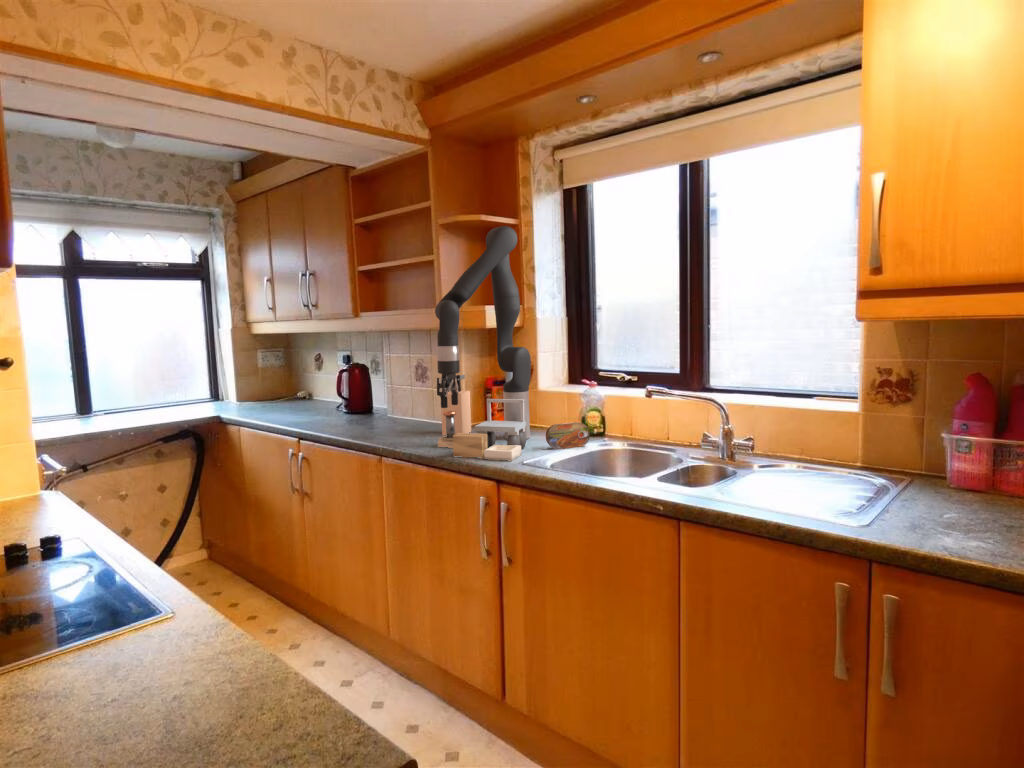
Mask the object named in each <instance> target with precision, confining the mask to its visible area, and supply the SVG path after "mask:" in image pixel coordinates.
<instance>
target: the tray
mask: <svg viewBox="0 0 1024 768" xmlns="http://www.w3.org/2000/svg"><path fill="white" fill-rule="evenodd" d="M484 456H485V457H484V460H485V459H488V460H487V461H499V460H510V461H509V462H513V461H514V460H516V459H518V458H519V457H520V456H522V449H521V446H518V445H507V444H495V445H493V446H491V447H489V448H487V449H486V450H484ZM515 458H516V459H515ZM512 460H513V461H512Z"/></svg>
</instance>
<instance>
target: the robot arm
mask: <svg viewBox="0 0 1024 768" xmlns="http://www.w3.org/2000/svg"><path fill="white" fill-rule="evenodd" d="M517 243H518V234H517V232H516V230H515V229H513V228H512V226H508V225H505V226H504V225H503V226H497V227H494V228H492V229H490V230H489V231H488V232H487V235H486V236H485V246H486V247H485V250H484V251H483V253H482V254H481V255H480V256H479V257H478V258H477V259H476V260H475V261H474V262H473V263H472V264H471V265H470V266H469V267H468V268H467V269H465V271H464V272H463V273H461V275H460V277H459V278H458V280H457V281H456V282H455V283H454V285H453V286H452V287H451V289H450V290H449V291H448V292H447V293H446V294H445V295H444V296H443V297H442V298H441V300H440V301H438V303H437V305H436V306H435V309H434V310H435V311H434V314H435V316H436V318H437V319H438V320H439V324H438V325H439V326H438V327H439V329H438V330H437V351H436V355H437V356H436V357H437V358H436V359H437V362H436V363H437V373H438V374H439V375H441V377H436V395H437V396H438V397H440V409H441V408H447V407H448V400H447V395H448V392H449V391H451V403H452V405H458V394H459V392H461V391H462V387H461V380H460V374H459V373H460V371H461V370H460V367H461V366H460V349H459V334H458V333H459V332H458V331H459V325H460V309H461V307H462V306H463V305H464V304H465V303H467V302H468V301H469V300H470V299H471V298H472V296H473V295H474V294H475V293H476V291H477V290H478V289H479V287H480V286H481V285H482V283H484V280H485V279H486V278H487V277H488V276H489V275H490V274H491V287H492V295H493V296H492V298H493V308H494V315H495V326H496V354H497V355H496V357H497V364H498V367H499V368H500V370H501V371H502V372H505V373H512V376H511V379H510V380H509V381H507V382H505V383H503V385H502V387H503V389H502V392H503V393H502V394H503V395H502V396H503V397H502V398H503V399H524V422H526V427H525V431H524V432H525V434H526V440H527V439H530V438H531V432H530V431H531V430H530V429H531V428H530V427H531V426H530V422H531V421H530V396H529V395H530V391H529V388H530V385H531V372H532V371H531V368H532V362H531V354H530V351H529V350H528V348H527V347H523V346H514V341H513V332H514V328H515V325H516V323H517V321H518V319H519V315H520V312H521V300H520V291H519V288H518V285H517V282H516V280H515V277H514V275H513V272H512V269H511V265H510V253H511V252H513V250H514V249H515V248H516V247H517ZM503 421H521V415H520V403H505V402H503ZM508 436H509V435H508V432H504V439H505V440H508Z"/></svg>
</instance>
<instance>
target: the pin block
mask: <svg viewBox="0 0 1024 768" xmlns="http://www.w3.org/2000/svg"><path fill="white" fill-rule="evenodd" d="M438 447H448V448H447V449H453V439H447V436H444V435H443V436H441V437H439V438H438V441H437V448H438Z"/></svg>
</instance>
